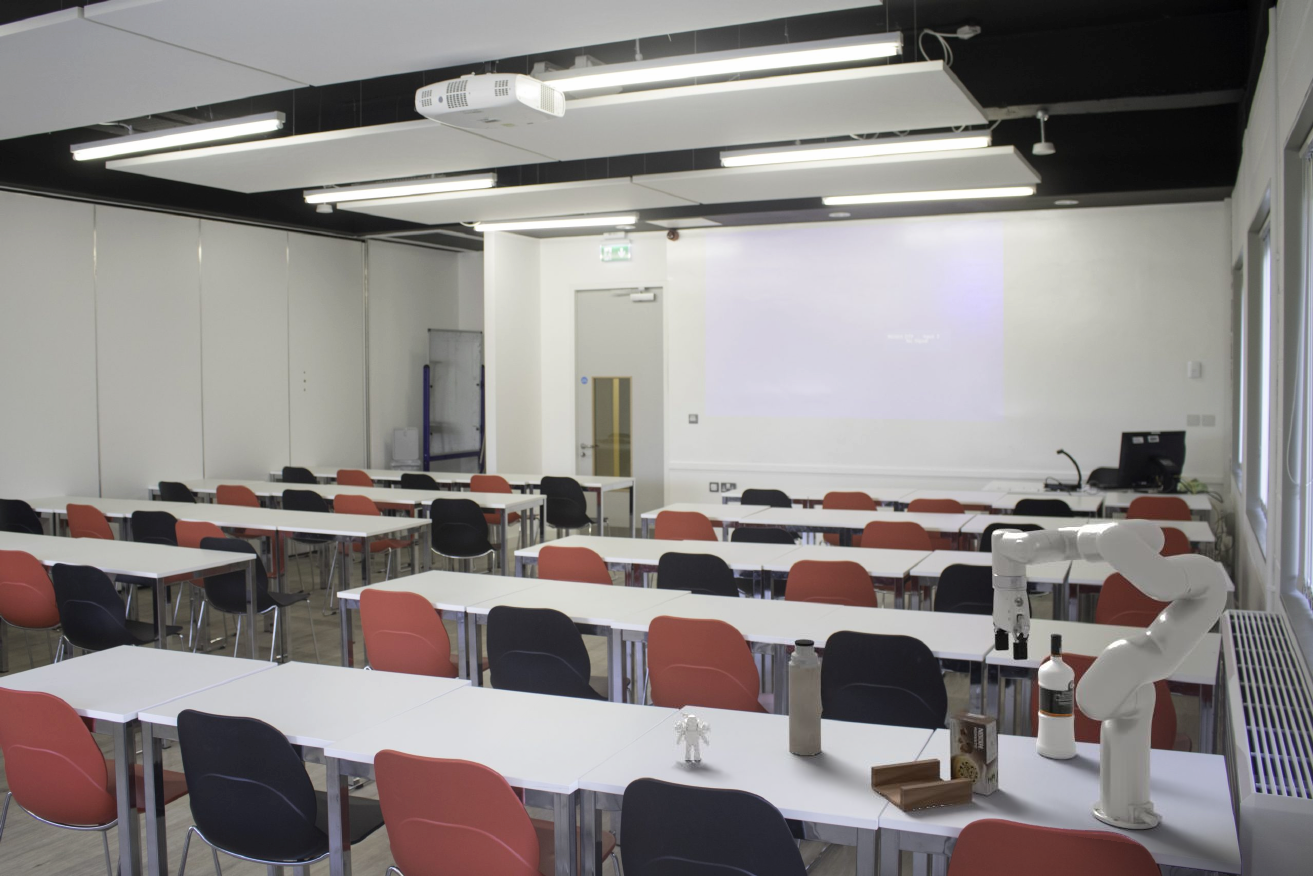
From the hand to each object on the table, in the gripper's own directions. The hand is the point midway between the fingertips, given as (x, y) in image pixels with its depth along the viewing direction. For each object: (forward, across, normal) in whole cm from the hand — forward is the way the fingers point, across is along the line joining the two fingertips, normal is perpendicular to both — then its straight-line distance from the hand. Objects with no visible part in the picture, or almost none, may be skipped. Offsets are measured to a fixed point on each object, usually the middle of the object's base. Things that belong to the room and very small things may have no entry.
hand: (1011, 654), depth 229 cm
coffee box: (+28, -6, +12) cm, 32 cm away
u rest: (+28, -9, +26) cm, 39 cm away
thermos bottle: (+27, +22, +45) cm, 57 cm away
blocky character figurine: (+27, +18, +74) cm, 81 cm away
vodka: (+28, +12, -17) cm, 35 cm away
